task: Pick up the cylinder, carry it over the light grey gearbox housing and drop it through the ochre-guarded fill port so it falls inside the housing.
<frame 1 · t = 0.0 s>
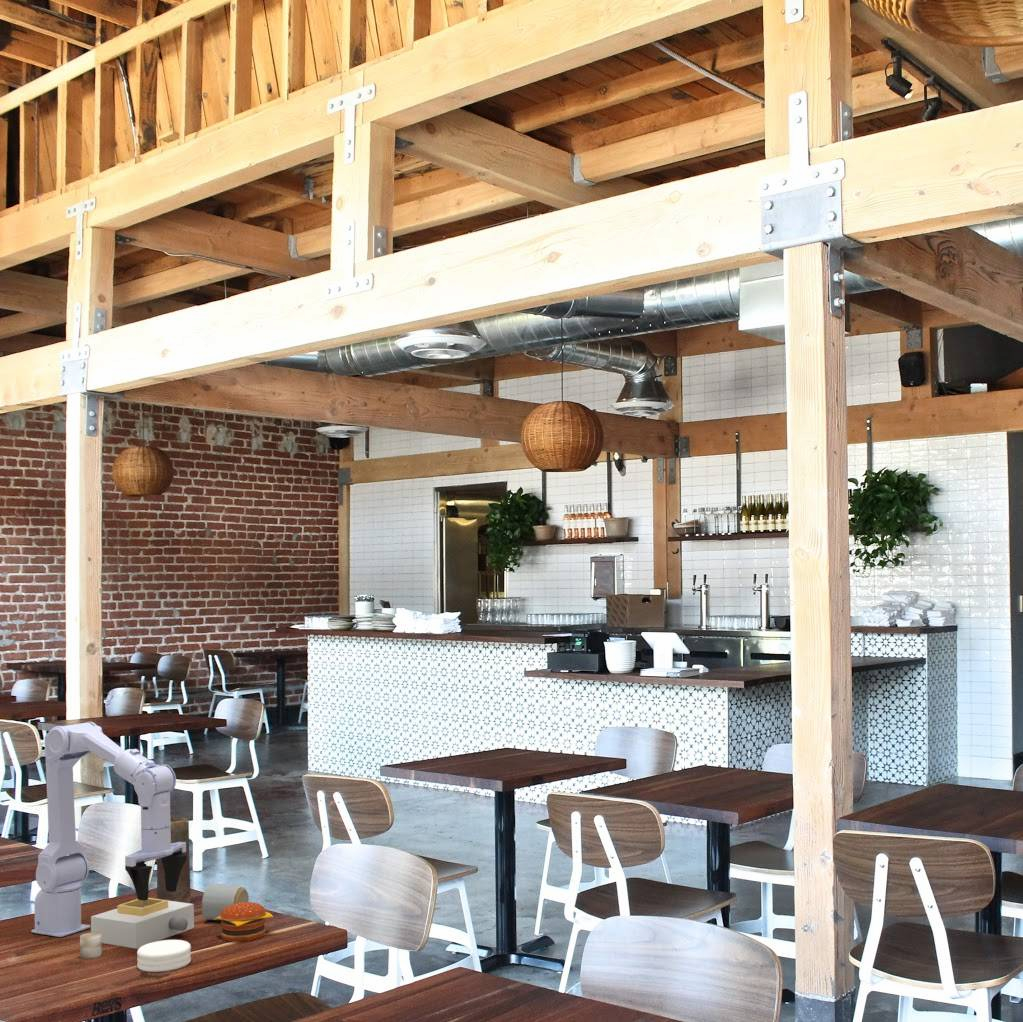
hand: (157, 895, 247), 10 cm above the table, fingers open, 7 cm apart
gearbox: (143, 934, 255), on the table
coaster: (164, 966, 234), on the table
cylinder: (91, 955, 241), on the table
brown paper bag: (174, 908, 277), on the table
hamburger: (244, 936, 252), on the table
ceramic mug: (227, 919, 266), on the table
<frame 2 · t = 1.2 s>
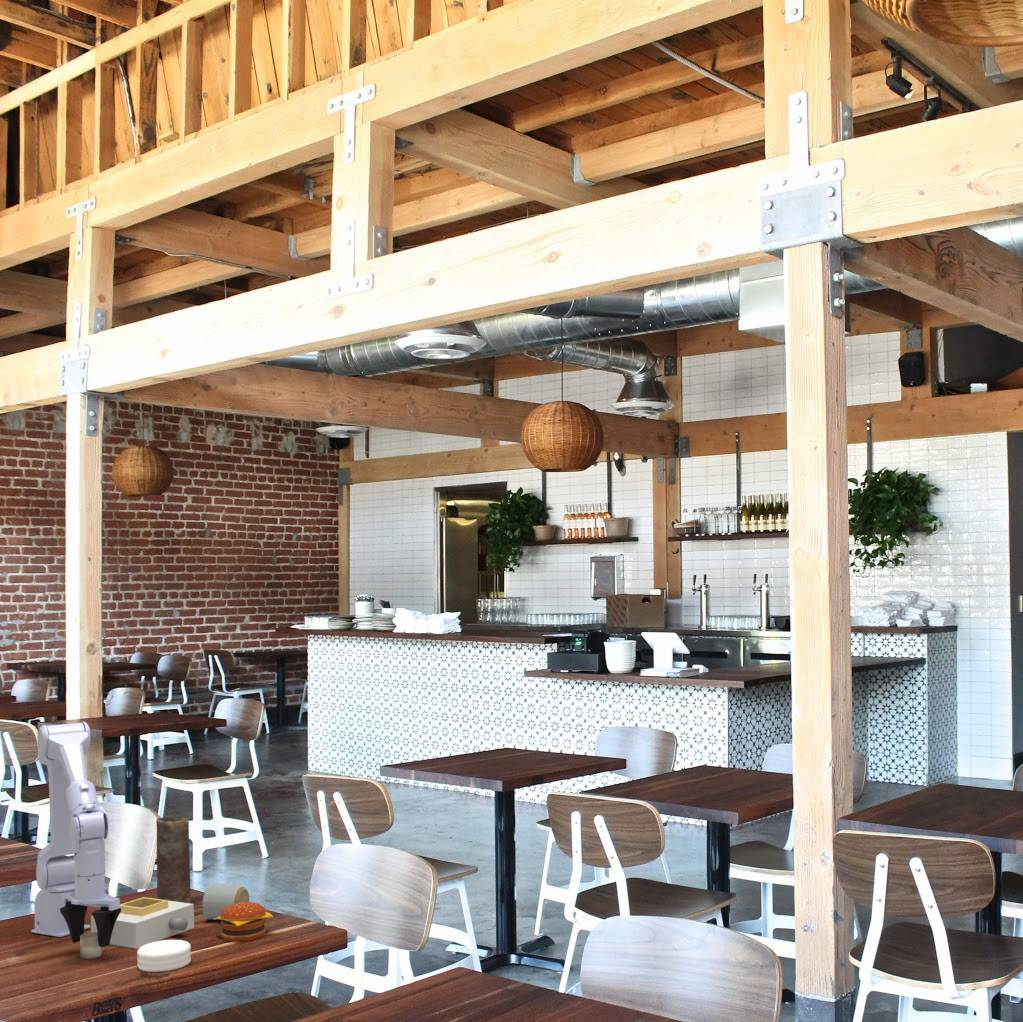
hand: (90, 943, 241), 2 cm above the table, fingers open, 7 cm apart
nothing on the table moved.
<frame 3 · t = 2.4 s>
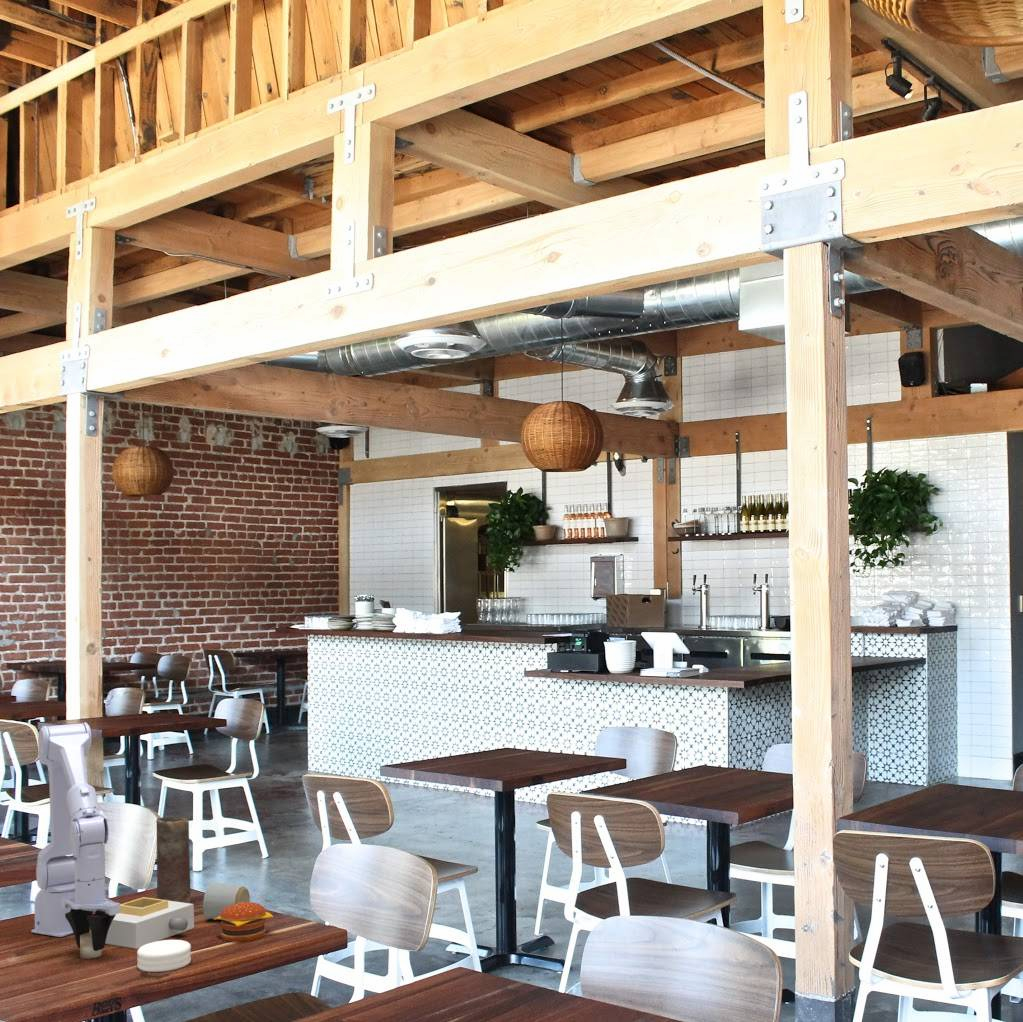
hand: (90, 948, 241), 1 cm above the table, fingers closed on cylinder, 4 cm apart
cylinder: (91, 955, 241), on the table, touching gripper
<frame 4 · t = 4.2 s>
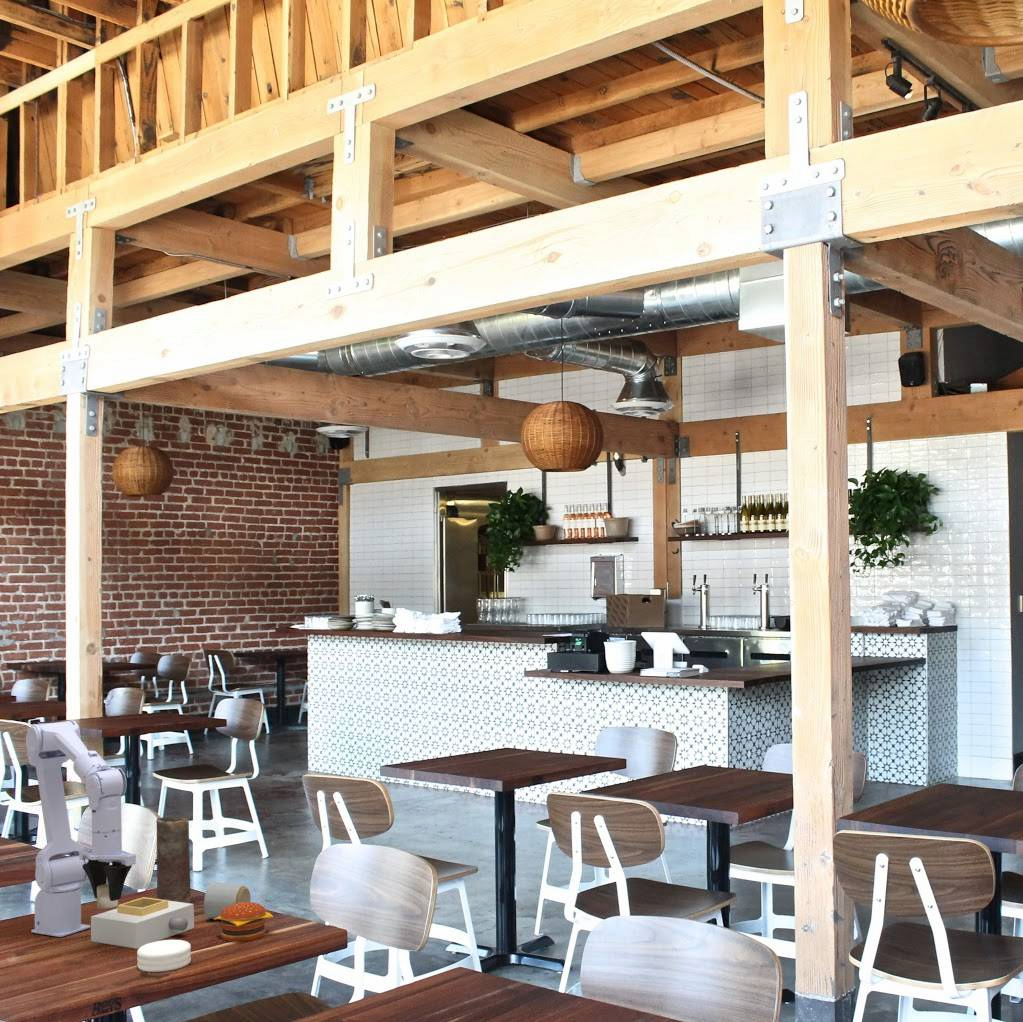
hand: (107, 898, 247), 10 cm above the table, fingers closed on cylinder, 4 cm apart
cylinder: (107, 905, 246), point 8 cm above the table, touching gripper
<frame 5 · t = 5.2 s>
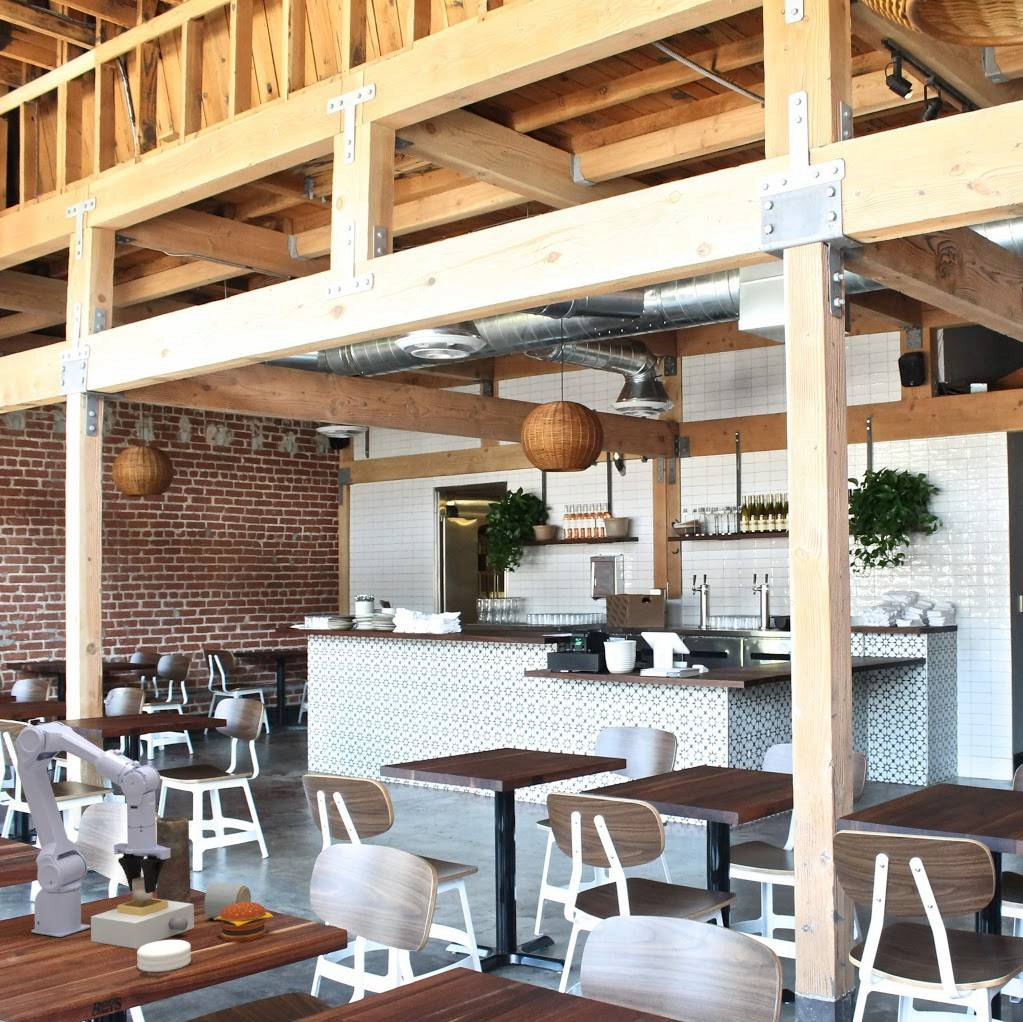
hand: (142, 891, 256), 9 cm above the table, fingers closed on cylinder, 4 cm apart
cylinder: (142, 898, 256), point 7 cm above the table, touching gripper
when the fingers open (9 cm above the table, at t = 5.9 s): cylinder drops 8 cm, resting in gearbox.
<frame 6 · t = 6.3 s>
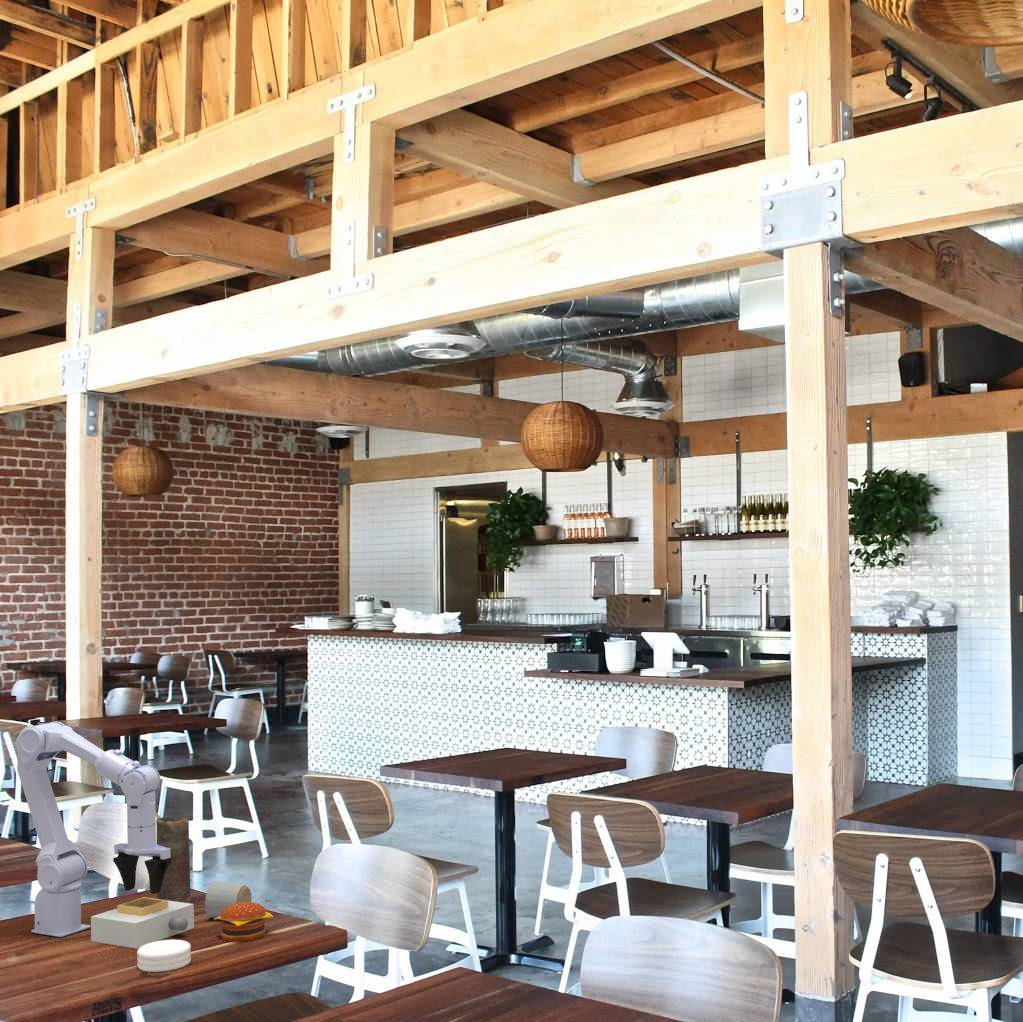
hand: (142, 891, 256), 9 cm above the table, fingers open, 7 cm apart
cylinder: (143, 934, 255), resting in gearbox
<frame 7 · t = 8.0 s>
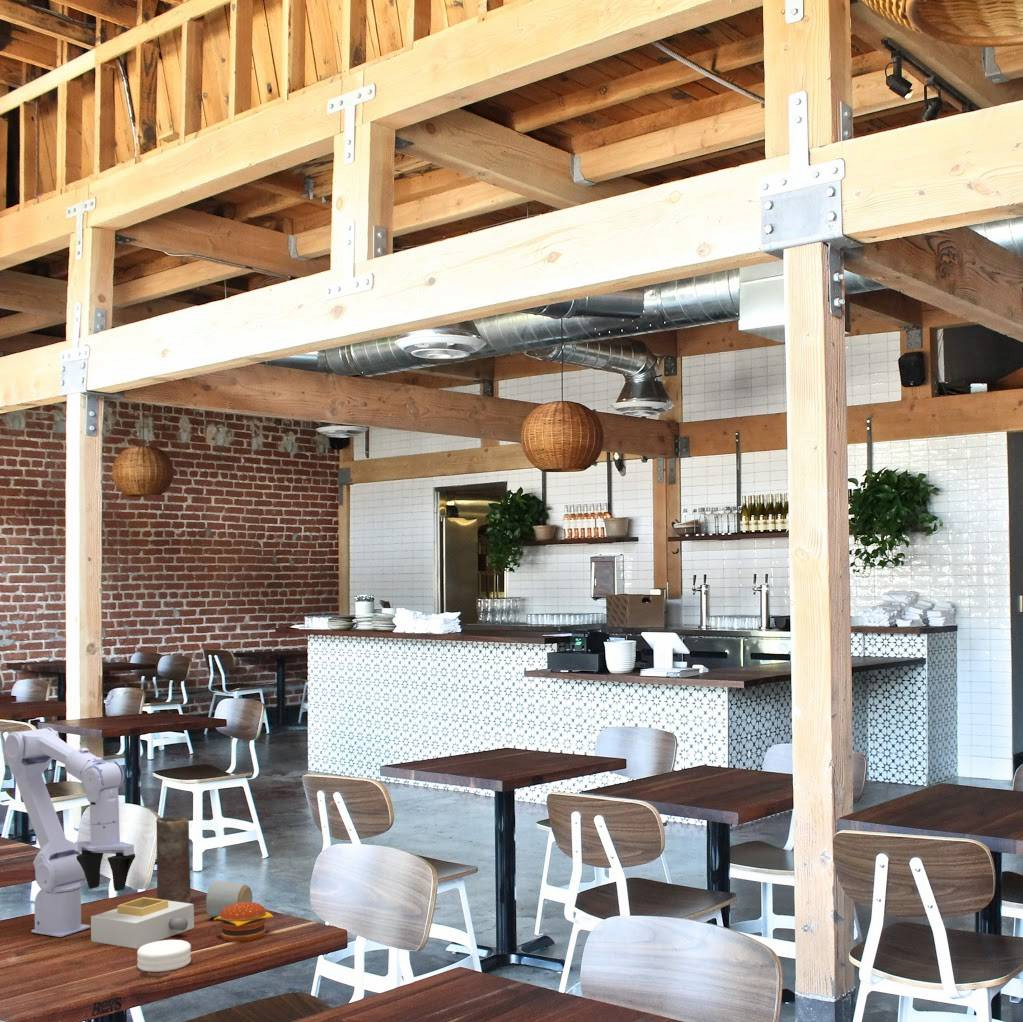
hand: (106, 888, 253), 10 cm above the table, fingers open, 7 cm apart
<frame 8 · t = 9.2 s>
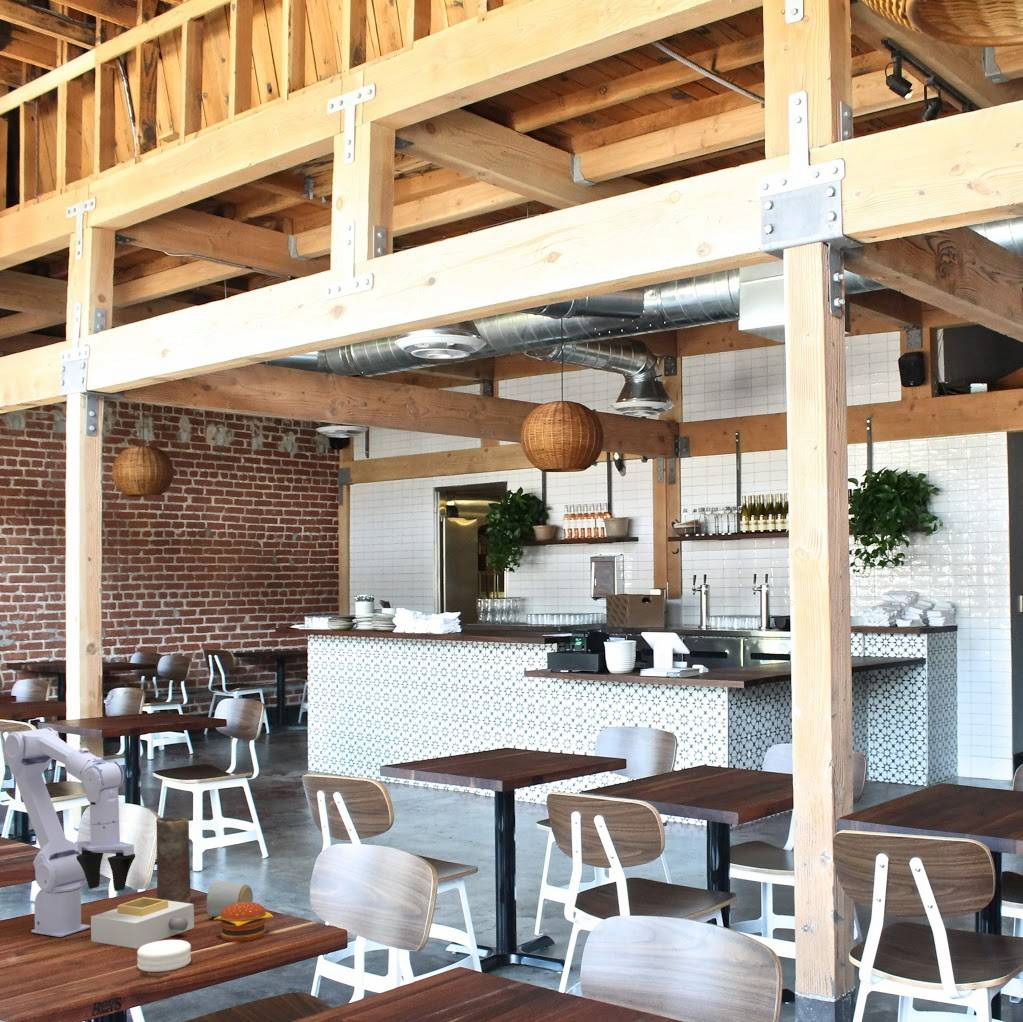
hand: (106, 888, 253), 10 cm above the table, fingers open, 7 cm apart
at the end: cylinder inside the target area on the gearbox (0.1 cm from its centre), point 0.0 cm above the gearbox's base; the gripper is holding nothing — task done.
